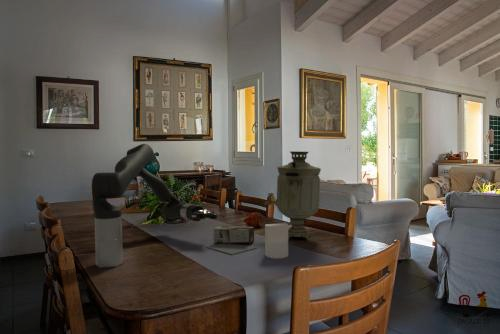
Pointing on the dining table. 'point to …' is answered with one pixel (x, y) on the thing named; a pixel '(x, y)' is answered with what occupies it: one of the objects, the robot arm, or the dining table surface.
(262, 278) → the dining table surface
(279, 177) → the samovar
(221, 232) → the coffee box
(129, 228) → the dining table surface
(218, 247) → the mat
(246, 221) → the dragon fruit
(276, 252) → the base with upright slab
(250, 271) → the dining table surface
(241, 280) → the dining table surface
